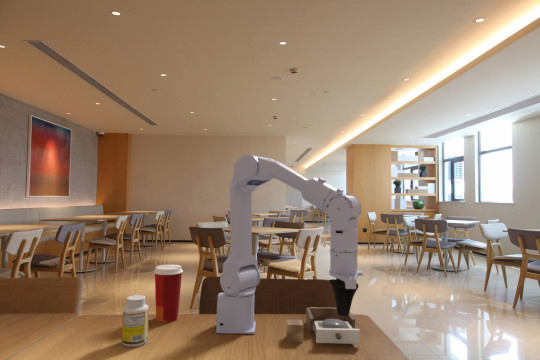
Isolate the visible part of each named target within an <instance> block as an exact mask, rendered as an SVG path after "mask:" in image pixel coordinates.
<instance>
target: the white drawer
mask: <svg viewBox="0 0 540 360" xmlns="http://www.w3.org/2000/svg"><path fill="white" fill-rule="evenodd" d="M344 322H345V323H346V329H343V328H322V321H314V330H315V333H316V335H315V342H316V344H349V345H350V344H356V345H357V344H359V345H360V342H361V341H360V340H361V339H360V338H361V337H360V336H361V335H360V334H361V330H360V328H355V329H353V328H352V327H351V325H350V324H349V322H348V321H344Z"/></svg>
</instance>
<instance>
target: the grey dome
mask: <svg viewBox="0 0 540 360" xmlns="http://www.w3.org/2000/svg"><path fill="white" fill-rule="evenodd" d="M322 328H343V329H346V323H345V322H344V321H342V320H339V319H326V320H323V321H322Z"/></svg>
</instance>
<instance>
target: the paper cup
mask: <svg viewBox="0 0 540 360" xmlns="http://www.w3.org/2000/svg"><path fill="white" fill-rule="evenodd" d="M182 267H183V266H182V265H179V264H161V265H157V266H156V267H155V268H154V270H153V274H154V286H155V287H154V288H155V290H154V291H155V298H154V299H155V319H156V322H158V323H161V324H163V323H164V324H165V323H166V324H167V323H172V322H175V321H177V320H178V319H179V308H180V299H181V288H182V276H183V275H182V273H183V272H184V270H183V269H182Z"/></svg>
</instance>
